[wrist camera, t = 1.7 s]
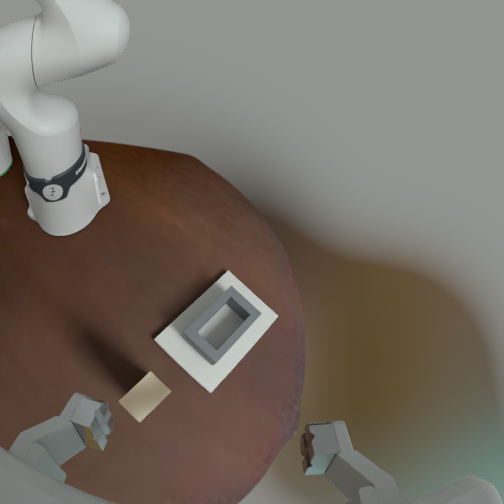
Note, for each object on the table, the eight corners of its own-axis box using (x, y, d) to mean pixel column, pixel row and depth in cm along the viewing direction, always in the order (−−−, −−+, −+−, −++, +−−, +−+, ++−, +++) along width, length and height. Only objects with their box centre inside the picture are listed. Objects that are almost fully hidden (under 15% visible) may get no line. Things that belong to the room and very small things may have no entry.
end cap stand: (154, 340, 41) (153, 334, 38) (227, 272, 51) (233, 261, 48) (209, 392, 40) (214, 392, 36) (276, 317, 50) (286, 309, 46)
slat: (133, 400, 35) (118, 401, 23) (154, 379, 38) (150, 371, 26) (147, 413, 35) (139, 422, 23) (168, 393, 38) (171, 391, 25)
